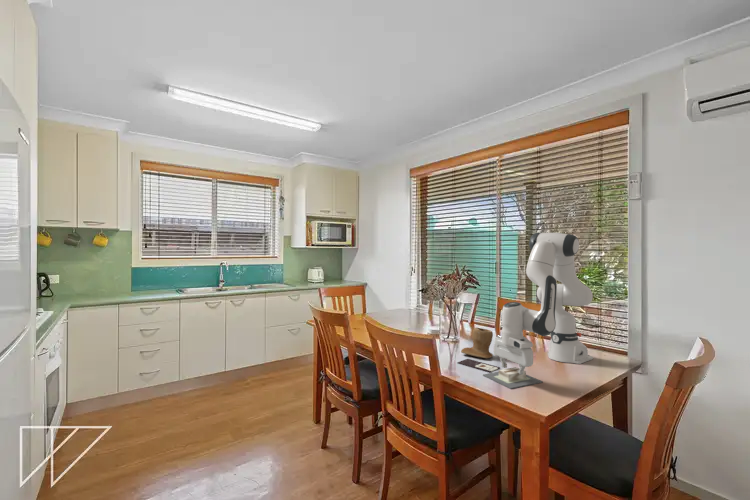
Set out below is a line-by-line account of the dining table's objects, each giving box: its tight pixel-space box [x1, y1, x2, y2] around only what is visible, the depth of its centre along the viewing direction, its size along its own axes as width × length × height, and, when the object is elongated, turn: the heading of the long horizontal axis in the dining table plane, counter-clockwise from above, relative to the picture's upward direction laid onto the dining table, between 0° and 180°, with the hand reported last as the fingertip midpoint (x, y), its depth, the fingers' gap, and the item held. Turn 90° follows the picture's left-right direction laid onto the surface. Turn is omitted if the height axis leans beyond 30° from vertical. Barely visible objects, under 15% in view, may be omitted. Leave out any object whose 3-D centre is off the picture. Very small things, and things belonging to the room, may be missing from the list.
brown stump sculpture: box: [461, 327, 494, 359], centre depth 193 cm, size 15×12×15 cm
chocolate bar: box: [456, 358, 501, 373], centre depth 177 cm, size 9×1×18 cm
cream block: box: [498, 367, 527, 382], centre depth 160 cm, size 10×6×3 cm, turn 113°
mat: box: [482, 371, 544, 390], centre depth 160 cm, size 18×17×1 cm
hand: (512, 370), depth 160 cm, fingers open, 8 cm apart
